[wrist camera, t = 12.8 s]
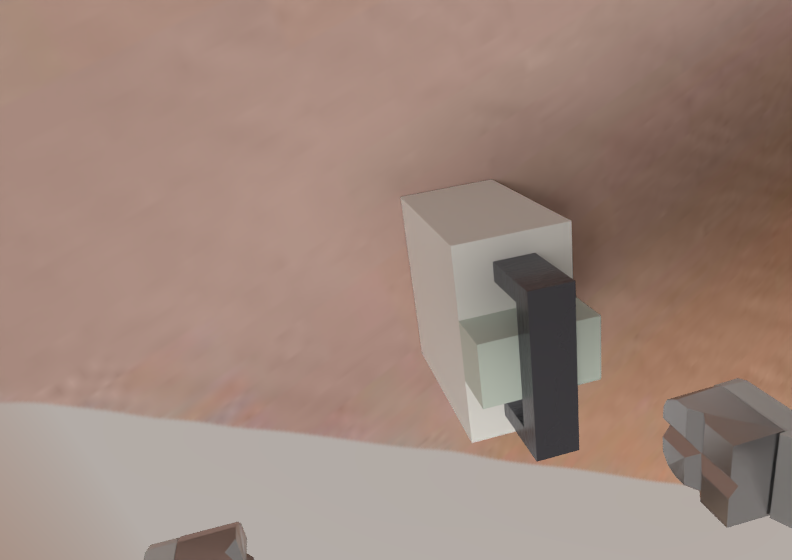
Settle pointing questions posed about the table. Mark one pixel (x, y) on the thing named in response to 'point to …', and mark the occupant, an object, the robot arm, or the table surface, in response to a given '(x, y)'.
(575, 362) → the frame
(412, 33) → the table surface
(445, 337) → the stand
